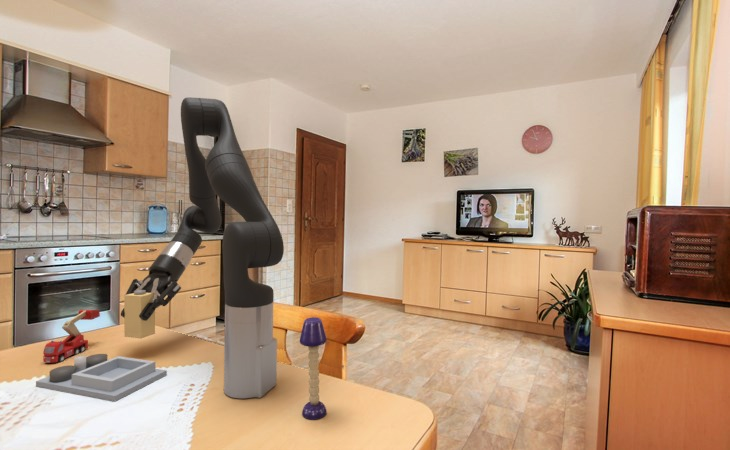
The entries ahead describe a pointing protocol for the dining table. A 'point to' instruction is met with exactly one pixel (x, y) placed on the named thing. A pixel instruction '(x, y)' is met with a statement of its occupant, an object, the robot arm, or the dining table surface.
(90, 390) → the grey insertion tray
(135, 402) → the dining table surface
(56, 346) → the toy fire truck
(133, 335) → the tan knobbed block
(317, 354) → the toy lamp
